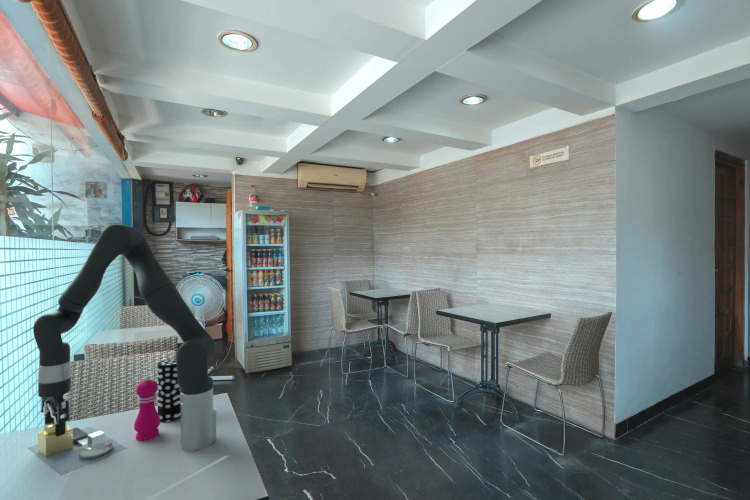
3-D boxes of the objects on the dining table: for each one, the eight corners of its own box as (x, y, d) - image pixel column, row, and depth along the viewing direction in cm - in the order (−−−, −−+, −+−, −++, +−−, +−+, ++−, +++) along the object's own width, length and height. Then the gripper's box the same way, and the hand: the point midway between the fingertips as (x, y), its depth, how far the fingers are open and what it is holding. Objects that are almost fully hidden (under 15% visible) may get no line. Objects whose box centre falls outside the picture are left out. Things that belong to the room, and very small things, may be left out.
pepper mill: (165, 432, 123) (164, 372, 123) (150, 443, 115) (149, 380, 115) (145, 431, 123) (144, 371, 123) (128, 442, 116) (128, 379, 116)
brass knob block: (64, 442, 116) (64, 417, 116) (72, 448, 112) (72, 422, 112) (38, 452, 110) (37, 425, 110) (45, 458, 107) (45, 430, 107)
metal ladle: (84, 429, 124) (84, 413, 124) (117, 449, 111) (117, 431, 111) (54, 440, 117) (54, 423, 117) (86, 463, 104) (85, 443, 104)
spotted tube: (154, 423, 129) (154, 366, 129) (161, 413, 137) (161, 359, 137) (180, 420, 131) (180, 364, 131) (186, 410, 139) (185, 357, 139)
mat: (90, 427, 126) (90, 426, 126) (126, 449, 112) (126, 447, 112) (27, 449, 113) (27, 447, 113) (60, 476, 99) (60, 475, 99)
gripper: (79, 378, 111) (79, 432, 111) (61, 370, 118) (61, 420, 118) (47, 386, 104) (47, 443, 104) (30, 376, 112) (30, 430, 112)
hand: (54, 431), depth 111 cm, fingers open, 8 cm apart
